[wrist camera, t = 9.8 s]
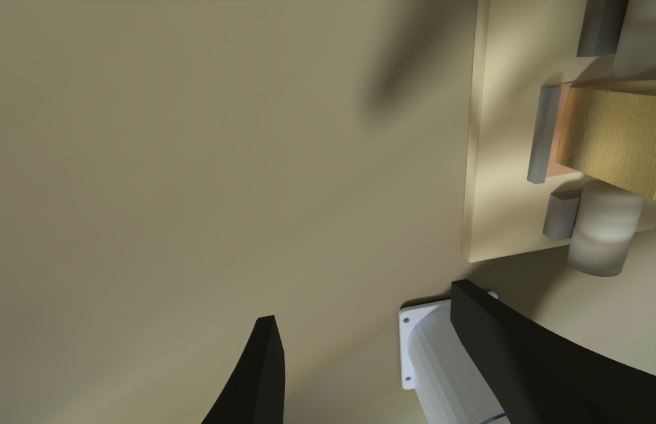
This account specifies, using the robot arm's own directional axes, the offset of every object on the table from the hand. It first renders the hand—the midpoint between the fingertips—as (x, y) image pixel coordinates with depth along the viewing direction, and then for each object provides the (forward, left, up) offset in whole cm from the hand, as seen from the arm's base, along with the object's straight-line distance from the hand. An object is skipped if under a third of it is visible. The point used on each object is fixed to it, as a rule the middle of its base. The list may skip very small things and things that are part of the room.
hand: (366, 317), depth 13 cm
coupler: (+4, -16, -8) cm, 18 cm away
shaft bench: (+4, -16, -9) cm, 19 cm away
